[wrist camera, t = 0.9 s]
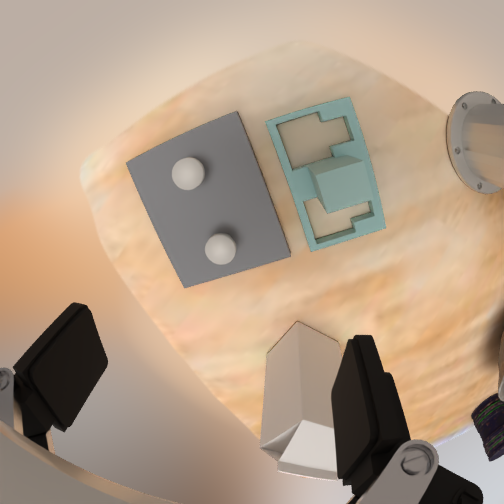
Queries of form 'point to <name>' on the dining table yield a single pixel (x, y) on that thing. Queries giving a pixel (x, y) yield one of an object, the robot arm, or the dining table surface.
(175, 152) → the board
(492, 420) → the storage jar
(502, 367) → the ceramic bowl
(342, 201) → the teal frame with block
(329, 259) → the dining table surface
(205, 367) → the dining table surface
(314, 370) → the milk carton
